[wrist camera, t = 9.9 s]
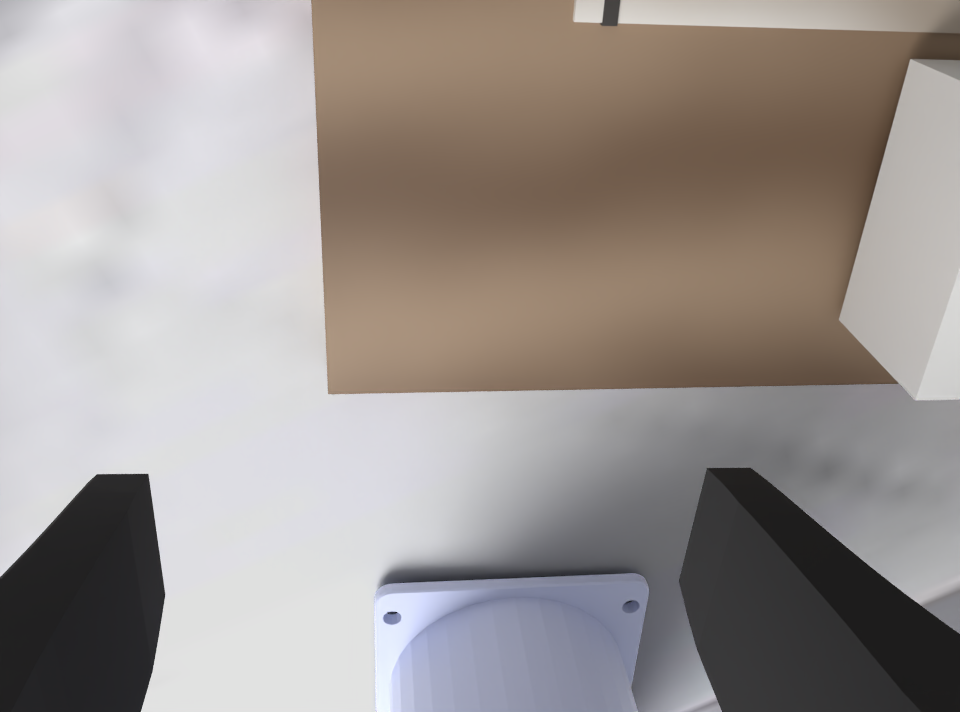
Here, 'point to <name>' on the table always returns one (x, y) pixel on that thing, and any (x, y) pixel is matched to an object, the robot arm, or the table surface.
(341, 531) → the table surface
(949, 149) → the gauge
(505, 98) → the test bench
